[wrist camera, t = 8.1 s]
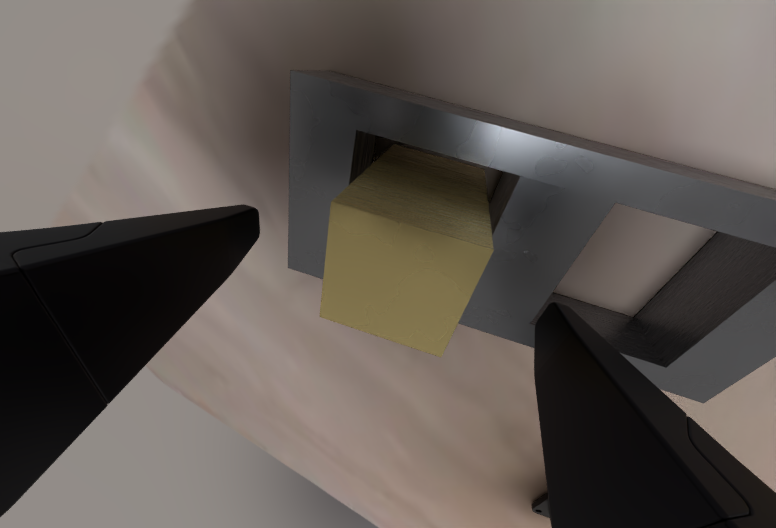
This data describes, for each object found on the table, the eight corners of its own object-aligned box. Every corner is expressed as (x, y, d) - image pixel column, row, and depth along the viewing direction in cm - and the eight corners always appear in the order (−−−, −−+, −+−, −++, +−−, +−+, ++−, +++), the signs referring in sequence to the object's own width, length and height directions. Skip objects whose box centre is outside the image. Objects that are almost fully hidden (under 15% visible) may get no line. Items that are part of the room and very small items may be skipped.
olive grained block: (453, 247, 15) (441, 357, 9) (377, 224, 15) (319, 316, 9) (484, 168, 13) (493, 250, 7) (393, 144, 13) (330, 201, 7)
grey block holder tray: (665, 349, 15) (703, 403, 13) (315, 238, 16) (288, 267, 14) (835, 205, 10) (946, 246, 8) (328, 70, 12) (290, 70, 9)
